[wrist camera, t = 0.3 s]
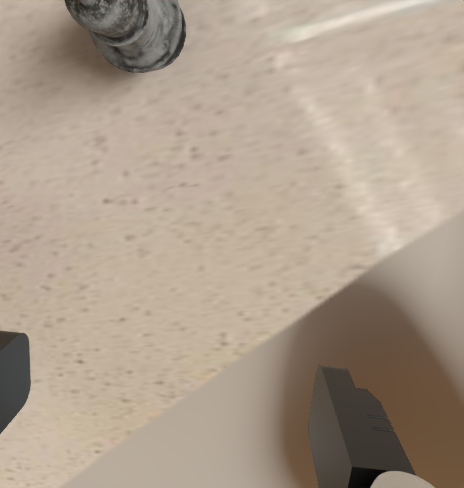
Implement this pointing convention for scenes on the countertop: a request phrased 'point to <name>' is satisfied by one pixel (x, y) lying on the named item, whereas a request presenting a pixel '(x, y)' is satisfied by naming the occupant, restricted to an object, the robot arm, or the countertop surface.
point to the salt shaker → (133, 31)
